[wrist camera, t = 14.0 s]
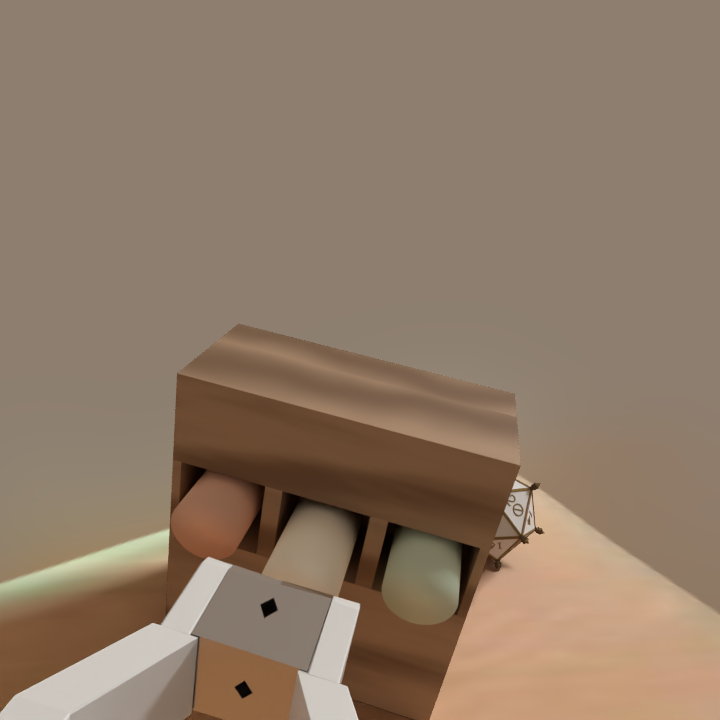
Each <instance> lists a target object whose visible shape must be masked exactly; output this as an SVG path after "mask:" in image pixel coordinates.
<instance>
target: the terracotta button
mask: <svg viewBox="0 0 720 720" xmlns="http://www.w3.org/2000/svg"><path fill="white" fill-rule="evenodd" d="M264 492H265V486H263V485H259V484H256V483H252V482H249V481H245V480H242V479H238V478H235V477H231V476H228V475H225V474H221V473H218V472H214V471H211V470H206V471H205V472H204V474H203V475H202V476H201V477H200V479H199V480H198V481H197V482H196V484H195V485H194V486H193V487H192V488H191V490H190V491H189V492H188V493H187V495H186V496H185V497H184V498H183V500H182V501H181V502H180V503H179V504H178V506H177V507H176V508H175V509H174V511H173V513H172V516H171V527H172V531H173V533H174V535H175V537H176V539H177V540H178V542H179V543H180V544H181V545H182V546H183V547H184V548H185V549H186V550H188V551H189V552H191V553H192V554H194V555H196V556H198V557H201V558H204V559H206V558H208V557H211V558H214V559H217V560H220V559H224V558H227V557H229V556H230V555H232V554H233V553H234V552H235V551H236V549H237V547H238V546H239V544H240V542H241V541H242V539H243V537H244V535H245V534H246V532H247V530H248V529H249V527H250V525H251V524H252V522H253V520H254V519H255V517H256V515H257V514H258V512H259V510H260V509H261V507H262V505H263V500H264Z"/></svg>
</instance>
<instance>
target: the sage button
mask: <svg viewBox="0 0 720 720" xmlns="http://www.w3.org/2000/svg"><path fill="white" fill-rule="evenodd" d="M462 544H463V543H460V542H457V541H453V540H450V539H447V538H443V537H440V536H436V535H433V534H429V533H426V532H422V531H419V530H415V529H412V528H408V527H405V526H401V525H398V524H396V529H395V533H394V537H393V541H392V546H391V550H390V554H389V558H388V562H387V567H386V571H385V575H384V579H383V584H382V597H383V600H384V602H385V604H386V605H387V607H388V608H389V609H390V610H391V611H392V612H393V613H394V614H395V615H397V616H398V617H400V618H401V619H403V620H405V621H408V622H411V623H414V624H419V625H433V624H438V623H441V622H444V621H446V620H447V619H449V618H450V617H451V616H452V615H453V614H454V613H455V611H456V609H457V607H458V601H459V587H460V573H461V558H462Z"/></svg>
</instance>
